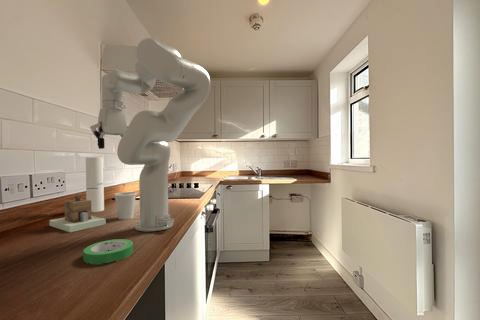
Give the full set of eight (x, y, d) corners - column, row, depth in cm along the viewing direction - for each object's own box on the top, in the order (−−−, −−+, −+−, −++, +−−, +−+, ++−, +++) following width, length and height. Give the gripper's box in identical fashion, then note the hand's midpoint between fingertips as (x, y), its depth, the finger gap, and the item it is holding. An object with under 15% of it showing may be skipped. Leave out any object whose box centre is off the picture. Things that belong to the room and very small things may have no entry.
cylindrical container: (107, 210, 121) (106, 157, 121) (91, 212, 115) (90, 157, 115) (98, 208, 125) (97, 157, 125) (83, 211, 119) (82, 157, 119)
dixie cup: (111, 218, 105) (110, 193, 104) (131, 214, 111) (131, 191, 110) (119, 221, 99) (119, 195, 99) (140, 217, 105) (140, 193, 105)
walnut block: (91, 219, 94) (91, 196, 94) (73, 222, 89) (73, 198, 89) (82, 217, 98) (81, 194, 98) (64, 220, 93) (64, 197, 93)
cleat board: (105, 224, 95) (105, 210, 95) (69, 232, 85) (69, 217, 85) (84, 218, 104) (84, 206, 104) (49, 225, 94) (49, 212, 94)
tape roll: (72, 264, 60) (71, 252, 60) (104, 247, 71) (104, 238, 71) (114, 267, 58) (114, 255, 58) (141, 249, 69) (141, 239, 69)
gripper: (126, 110, 113) (127, 149, 113) (85, 104, 98) (86, 148, 98) (137, 108, 109) (138, 149, 109) (95, 101, 94) (96, 148, 94)
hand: (113, 148), depth 104 cm, fingers open, 9 cm apart
